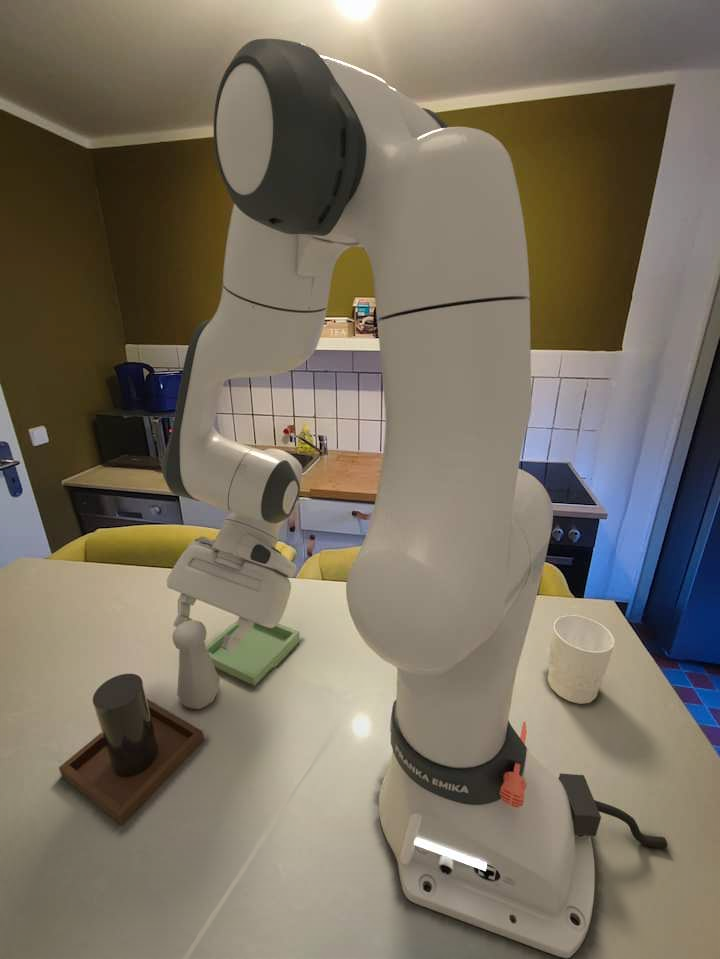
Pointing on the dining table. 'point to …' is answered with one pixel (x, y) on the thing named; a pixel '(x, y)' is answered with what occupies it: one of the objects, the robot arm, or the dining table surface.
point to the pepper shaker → (126, 724)
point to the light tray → (254, 651)
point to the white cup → (578, 657)
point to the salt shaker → (194, 666)
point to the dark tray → (130, 793)
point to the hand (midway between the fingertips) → (202, 638)
